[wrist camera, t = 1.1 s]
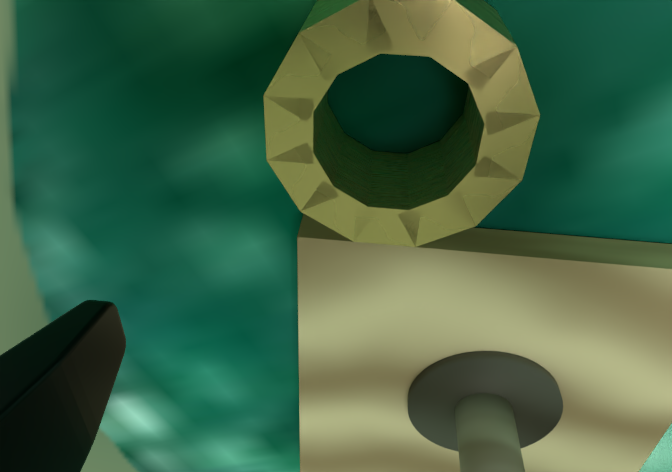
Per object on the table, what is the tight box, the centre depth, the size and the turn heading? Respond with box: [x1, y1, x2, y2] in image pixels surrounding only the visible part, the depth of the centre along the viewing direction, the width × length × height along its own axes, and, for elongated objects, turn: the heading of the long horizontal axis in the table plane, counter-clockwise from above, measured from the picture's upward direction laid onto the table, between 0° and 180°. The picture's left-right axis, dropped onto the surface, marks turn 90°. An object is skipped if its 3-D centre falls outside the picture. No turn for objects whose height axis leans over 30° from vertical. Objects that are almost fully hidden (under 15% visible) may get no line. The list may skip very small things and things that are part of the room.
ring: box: [263, 0, 540, 247], centre depth 15 cm, size 7×7×4 cm
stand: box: [297, 214, 672, 472], centre depth 21 cm, size 16×16×7 cm
